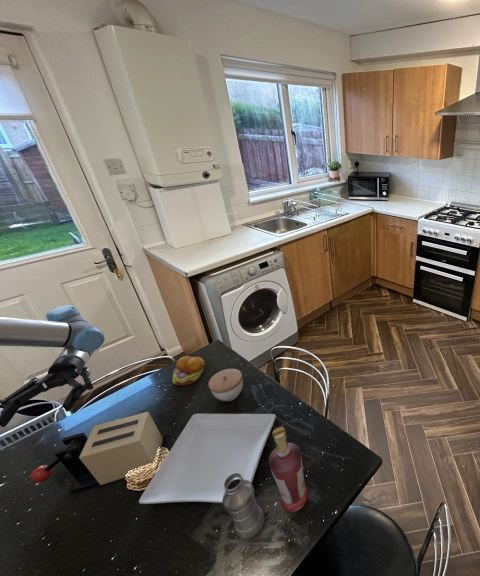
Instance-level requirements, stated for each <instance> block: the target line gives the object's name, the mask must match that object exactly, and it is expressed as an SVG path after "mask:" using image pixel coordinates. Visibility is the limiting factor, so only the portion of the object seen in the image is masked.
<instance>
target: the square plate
mask: <svg viewBox="0 0 480 576" xmlns="http://www.w3.org/2000/svg"><path fill="white" fill-rule="evenodd" d="M276 417H277V415H276V414H274V413H194V414H192V416H190V418H189V420H188V422H187V423H186V425H185V427H184V428H183V430H182V431H181V433H180V434H179V436H178V437H177V439H176V441H175V443H174V444H173V446H172V447H171V449H170V451H169V452H168V453H167V455H166V456H165V459H163V461H162V463H161V464H160V466H159V467H158V468H157V471H156V473H155V474H154V476H153V477H152V478H151V481H150V482H149V484H147V487H146V488H145V490H144V491H143V493H142V494H141V496H140V498H139V500H138V503H139V504H141V505H151V504H166V503H167V504H168V503H187V502H188V503H189V502H191V503H192V502H194V503H195V502H197V503H198V502H199V503H200V502H201V503H215V504H216V503H218V504H222V500H223V494H224V492H225V488H224V482H225V480H226V479H227V478H228V477H229V476H230V475H231V474H234V473H239V474H241V475H242V478H243V479H246V480H248V481H250V482H251V483H252V484H253V481H254V477H255V474H256V471H257V469H258V465H259V462H260V459H261V456H262V455H263V454H262V453H263V452H264V448H265V446H266V443H267V440H268V438H269V435H270V433H271V430H272V428H273V426H274V423H275V421H276Z"/></svg>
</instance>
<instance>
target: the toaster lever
mask: <svg viewBox="0 0 480 576" xmlns="http://www.w3.org/2000/svg"><path fill="white" fill-rule="evenodd" d="M82 443H83V441H79V440H75V439H73V440H71V441H70V442H69V443H68V444H67V445H66V446H65V445H64V448H63V449H65V448H68V447H72V446H76V445H78V447H79V448H80V447H81V445H82ZM59 463H61V462H60V461H59V459H58V458H57V457H56V458H54V459H53V460H52V461H51V462H50V463H48V464H42V465H40V466H38V467H36V468H35V469H33V470H32V472H31V473H30V480H31V482H33V483H38V484H39V483H42V482H45V481H47V480H48V479H50V477H51V476H52V475H53V472H54V469H53V468H55V466H56V465H58V464H59Z"/></svg>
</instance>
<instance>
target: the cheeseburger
mask: <svg viewBox="0 0 480 576" xmlns="http://www.w3.org/2000/svg"><path fill="white" fill-rule="evenodd" d="M204 368H205V360H204V359H203V358H202V357H200V356H195V355H194V356H190V355H185V356H181V357H180V358H179V359H177V361H176V363H175V368H174V369H173V373H172V383H173V384H174V385H175V386H188V385H193V384H194V383H196V382H197V381H198V380H199V379H201V376H202V374H203V372H204Z"/></svg>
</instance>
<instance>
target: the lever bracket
mask: <svg viewBox="0 0 480 576" xmlns="http://www.w3.org/2000/svg"><path fill="white" fill-rule="evenodd" d="M88 438H89V437H88V436H87V435H86V433H85V432H80V433H76V434H73V435H68V436H65V437H62V439H61V442H62V443H63V444H64V448H65V446H66V445H67V444H68V443H69V442H70V441H71V440H73V439H75V440H79V441H83V443H82V445H81V447H80V448H79V447H78V445H76V446H72V447H68V448H65V449H64V448H61V449H58V450H55V452H54V456H55V457H56V458H58V459H59V461H60V462H59V463H61V464H62V466H63V467H64V468H65V469H66V470H67V472H69V474H70V475H71V476H72V477H73V478H74V479H75V481H74V483H73V485H72V488H71V489H70V490H71V493H77V492H80V491H84V490H87V489H90V488H94V487H96V486H100V484H99V482H98V481H97V480H96V479H95V477H94V476H93V475H92V473H91V472H90V471H89V470H88V468H87V467H86V466H85V465H84V463H83V462H82V461H81V459H80V458H79V457H80V455H81V453H82V450H83V448H84V446H85V444H86V442H87V440H88Z"/></svg>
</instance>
